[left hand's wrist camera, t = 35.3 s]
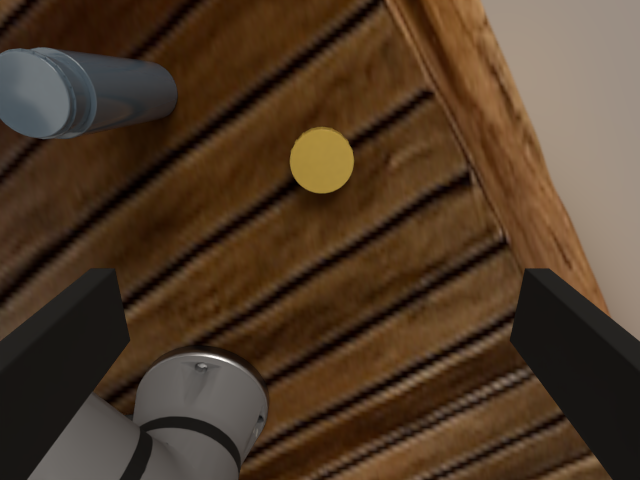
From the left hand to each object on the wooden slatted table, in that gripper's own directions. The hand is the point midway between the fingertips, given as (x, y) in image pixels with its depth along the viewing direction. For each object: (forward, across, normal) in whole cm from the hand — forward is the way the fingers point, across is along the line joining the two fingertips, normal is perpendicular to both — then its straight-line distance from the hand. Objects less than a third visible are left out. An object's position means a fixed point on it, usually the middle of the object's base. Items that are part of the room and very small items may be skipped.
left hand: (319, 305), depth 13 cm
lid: (+24, 0, 0) cm, 24 cm away
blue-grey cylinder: (+26, +15, -6) cm, 31 cm away
